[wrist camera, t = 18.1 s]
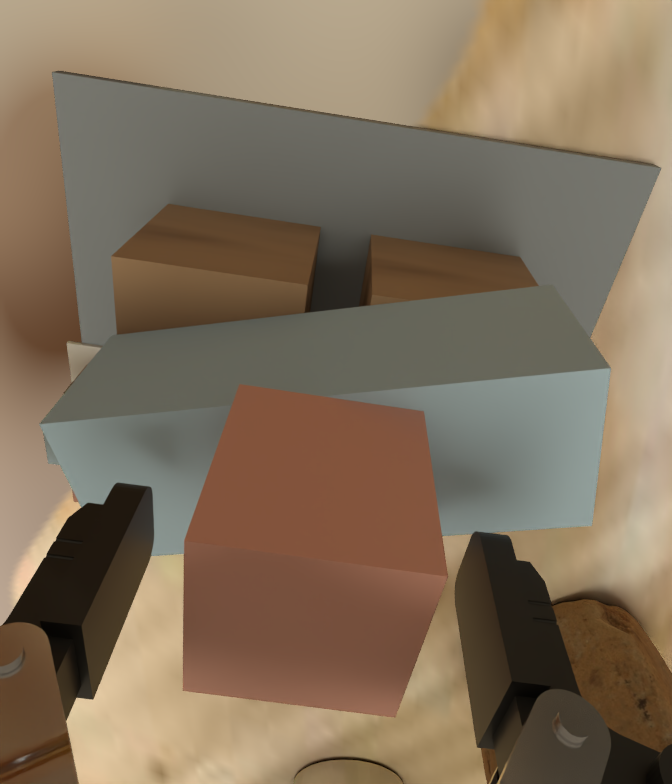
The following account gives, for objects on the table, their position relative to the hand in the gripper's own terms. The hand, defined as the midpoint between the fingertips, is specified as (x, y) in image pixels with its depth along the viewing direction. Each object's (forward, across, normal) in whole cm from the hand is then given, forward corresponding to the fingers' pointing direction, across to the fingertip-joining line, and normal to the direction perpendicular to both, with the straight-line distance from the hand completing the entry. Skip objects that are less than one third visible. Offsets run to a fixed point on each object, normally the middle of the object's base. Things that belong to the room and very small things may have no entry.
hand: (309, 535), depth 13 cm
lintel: (+7, 0, 0) cm, 7 cm away
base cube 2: (+13, +4, 0) cm, 14 cm away
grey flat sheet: (+14, 0, +1) cm, 14 cm away
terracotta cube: (+2, 0, 0) cm, 2 cm away
